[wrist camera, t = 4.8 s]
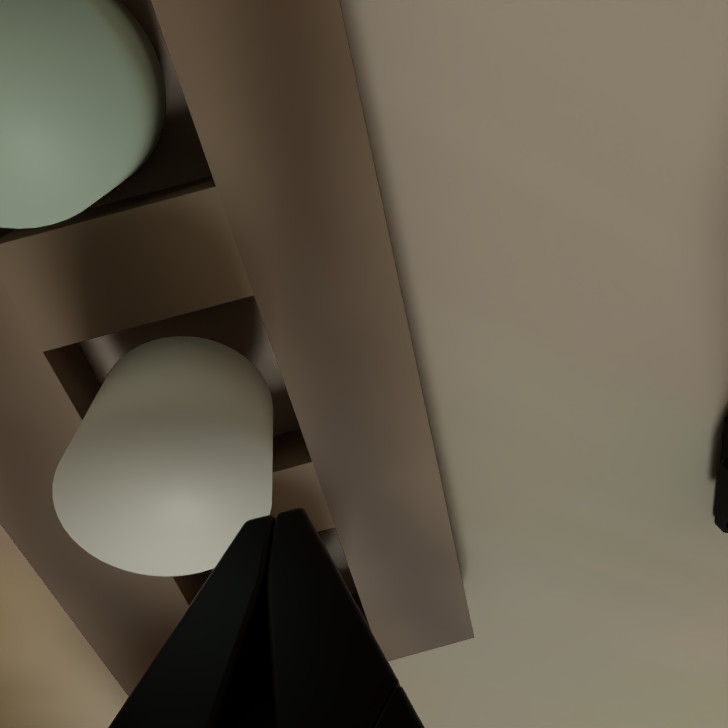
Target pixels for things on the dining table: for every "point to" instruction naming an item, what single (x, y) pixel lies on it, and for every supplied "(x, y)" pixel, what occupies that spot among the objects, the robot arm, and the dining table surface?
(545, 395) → the dining table surface
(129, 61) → the button sage
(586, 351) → the dining table surface
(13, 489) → the button board
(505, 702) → the dining table surface
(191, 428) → the button cream
